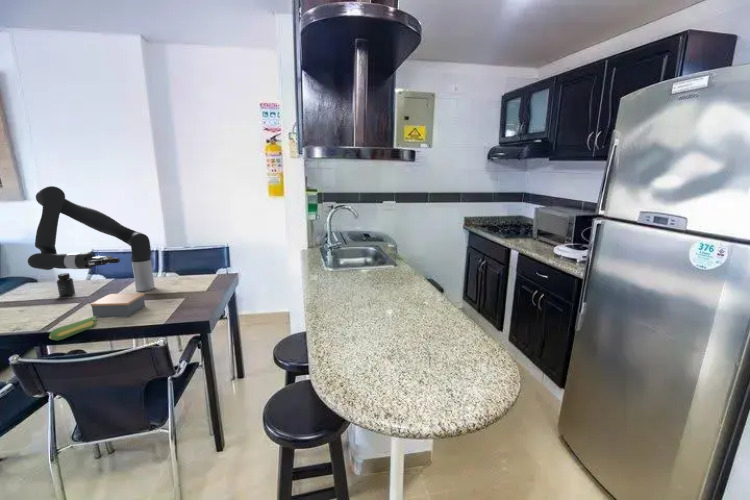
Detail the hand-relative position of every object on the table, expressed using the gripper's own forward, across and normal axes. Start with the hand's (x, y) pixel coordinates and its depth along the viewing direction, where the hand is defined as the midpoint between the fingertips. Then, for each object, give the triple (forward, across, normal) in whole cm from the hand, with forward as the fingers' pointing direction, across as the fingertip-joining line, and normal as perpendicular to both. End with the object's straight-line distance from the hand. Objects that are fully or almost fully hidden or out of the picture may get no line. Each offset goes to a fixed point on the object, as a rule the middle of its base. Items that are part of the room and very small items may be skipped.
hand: (118, 260), depth 166 cm
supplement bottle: (-48, +27, +26) cm, 61 cm away
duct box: (-3, 0, +26) cm, 26 cm away
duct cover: (-3, 0, +20) cm, 20 cm away
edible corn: (-7, -22, +26) cm, 35 cm away
